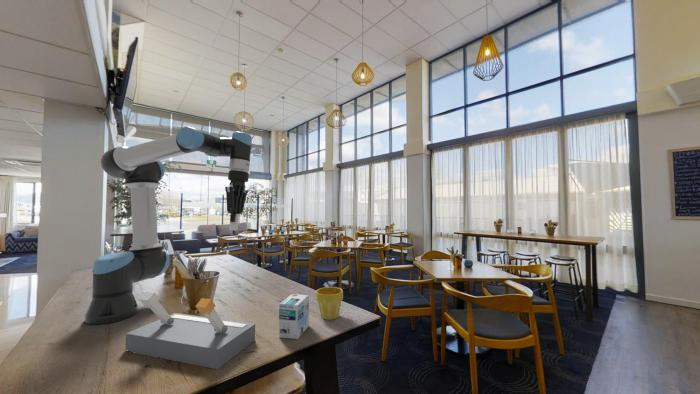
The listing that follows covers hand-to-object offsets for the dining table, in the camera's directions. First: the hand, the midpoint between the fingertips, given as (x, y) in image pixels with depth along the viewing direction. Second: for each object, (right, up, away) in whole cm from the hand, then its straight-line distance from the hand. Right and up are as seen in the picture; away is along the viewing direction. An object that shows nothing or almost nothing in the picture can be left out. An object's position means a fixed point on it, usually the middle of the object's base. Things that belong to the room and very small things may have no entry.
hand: (233, 230), depth 108 cm
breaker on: (-11, -25, -23) cm, 36 cm away
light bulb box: (+27, -32, -16) cm, 45 cm away
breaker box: (-1, -32, -26) cm, 41 cm away
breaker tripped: (+8, -25, -28) cm, 39 cm away
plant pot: (+38, -33, -4) cm, 50 cm away
